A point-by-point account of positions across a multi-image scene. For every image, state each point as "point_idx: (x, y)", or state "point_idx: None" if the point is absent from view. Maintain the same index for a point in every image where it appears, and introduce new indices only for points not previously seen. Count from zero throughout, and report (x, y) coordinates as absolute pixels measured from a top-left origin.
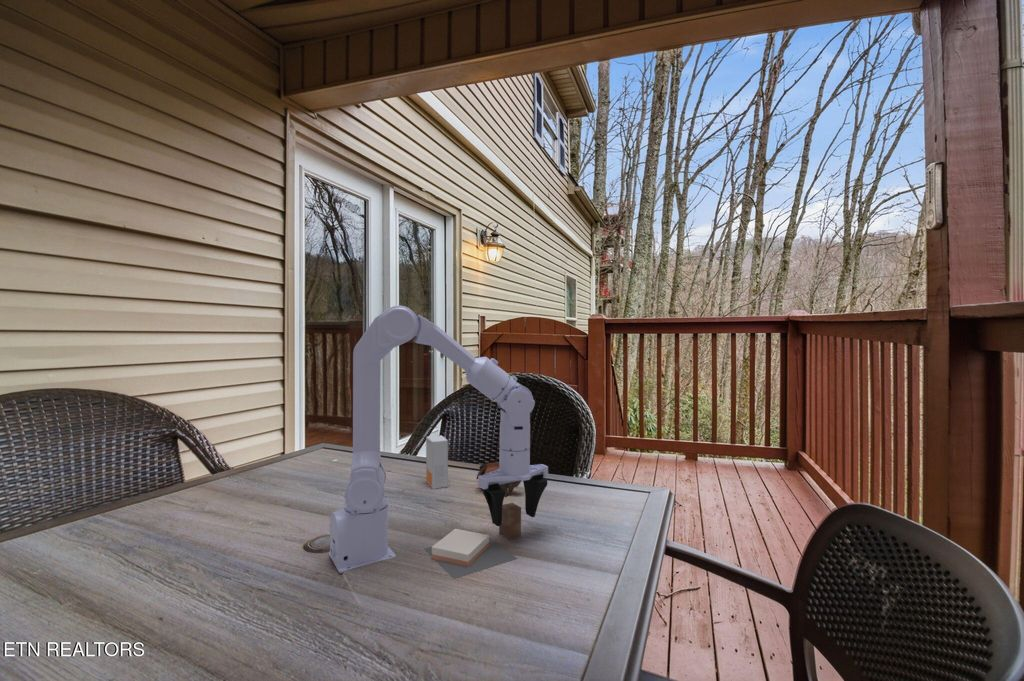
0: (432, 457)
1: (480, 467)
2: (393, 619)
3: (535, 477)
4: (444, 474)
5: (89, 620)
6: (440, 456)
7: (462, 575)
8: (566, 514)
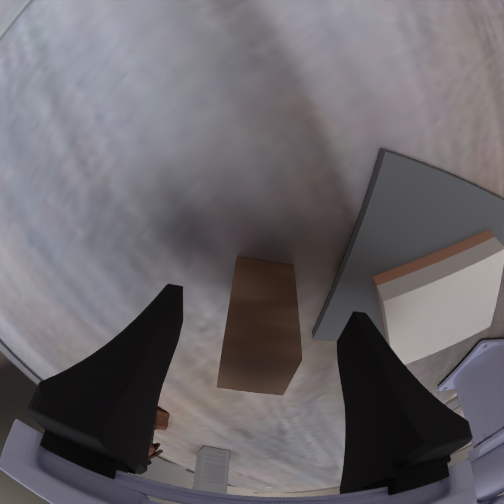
0: None
1: (150, 461)
2: None
3: (97, 466)
4: (207, 466)
5: None
6: None
7: None
8: (36, 271)
